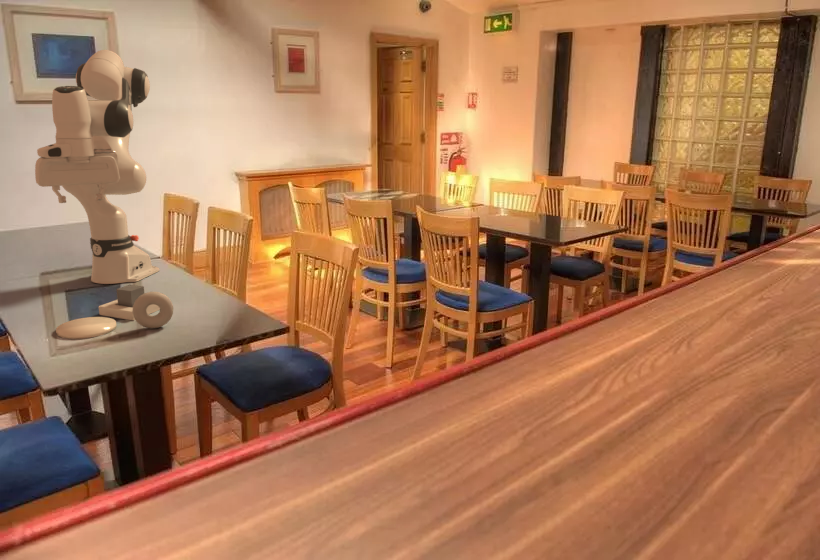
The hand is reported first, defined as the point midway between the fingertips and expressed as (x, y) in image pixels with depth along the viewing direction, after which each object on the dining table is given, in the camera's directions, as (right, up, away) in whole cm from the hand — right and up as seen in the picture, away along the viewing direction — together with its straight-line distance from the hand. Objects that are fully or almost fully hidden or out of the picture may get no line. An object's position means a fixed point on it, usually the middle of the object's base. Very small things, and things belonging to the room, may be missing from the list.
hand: (81, 201), depth 172 cm
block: (+11, -30, +7) cm, 33 cm away
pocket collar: (+11, -30, +7) cm, 33 cm away
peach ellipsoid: (+5, -34, -7) cm, 35 cm away
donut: (+22, -34, -5) cm, 41 cm away
